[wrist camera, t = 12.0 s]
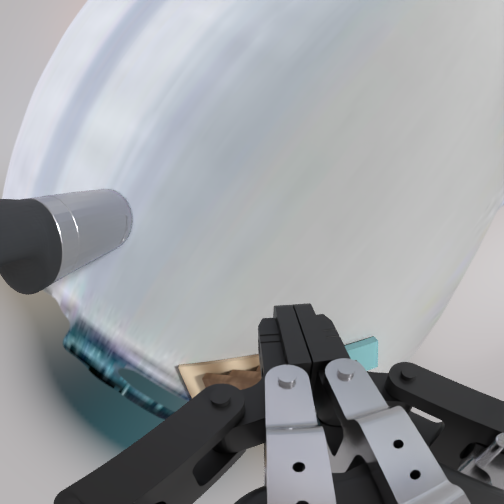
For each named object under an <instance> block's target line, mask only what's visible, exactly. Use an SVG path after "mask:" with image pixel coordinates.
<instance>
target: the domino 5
mask: <svg viewBox="0 0 504 504" xmlns="http://www.w3.org/2000/svg"><path fill="white" fill-rule="evenodd" d="M345 348H346V350H347V352H348V354H349V356H350V358H351V359H352V360H357V362H359V363H360V364H361V365H363V367H364V368H365V370H366V371H367V370H370V369H373V368H375V367H378V340H377V339H376V338H375V337H374V336H373V337H370V338H368V339H365V340H362V341H359V342H355V343H352V344H349V345H346V346H345Z"/></svg>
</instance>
